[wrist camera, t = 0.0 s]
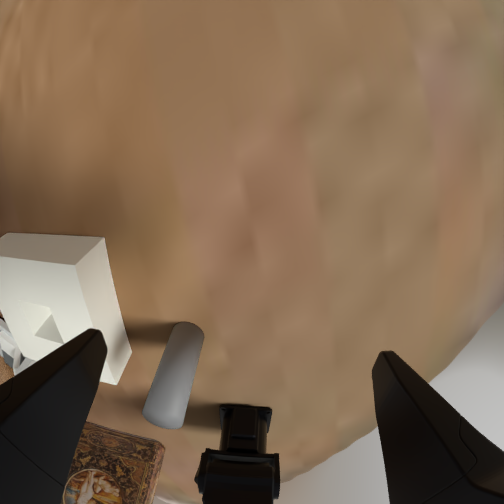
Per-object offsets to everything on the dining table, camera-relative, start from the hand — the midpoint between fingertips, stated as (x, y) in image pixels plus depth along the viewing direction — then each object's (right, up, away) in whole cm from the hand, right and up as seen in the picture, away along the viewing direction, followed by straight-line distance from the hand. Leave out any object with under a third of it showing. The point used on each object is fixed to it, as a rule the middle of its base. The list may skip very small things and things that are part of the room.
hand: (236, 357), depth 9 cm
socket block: (-20, -1, +18) cm, 27 cm away
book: (-23, -31, +34) cm, 51 cm away
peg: (-6, -5, +19) cm, 21 cm away
